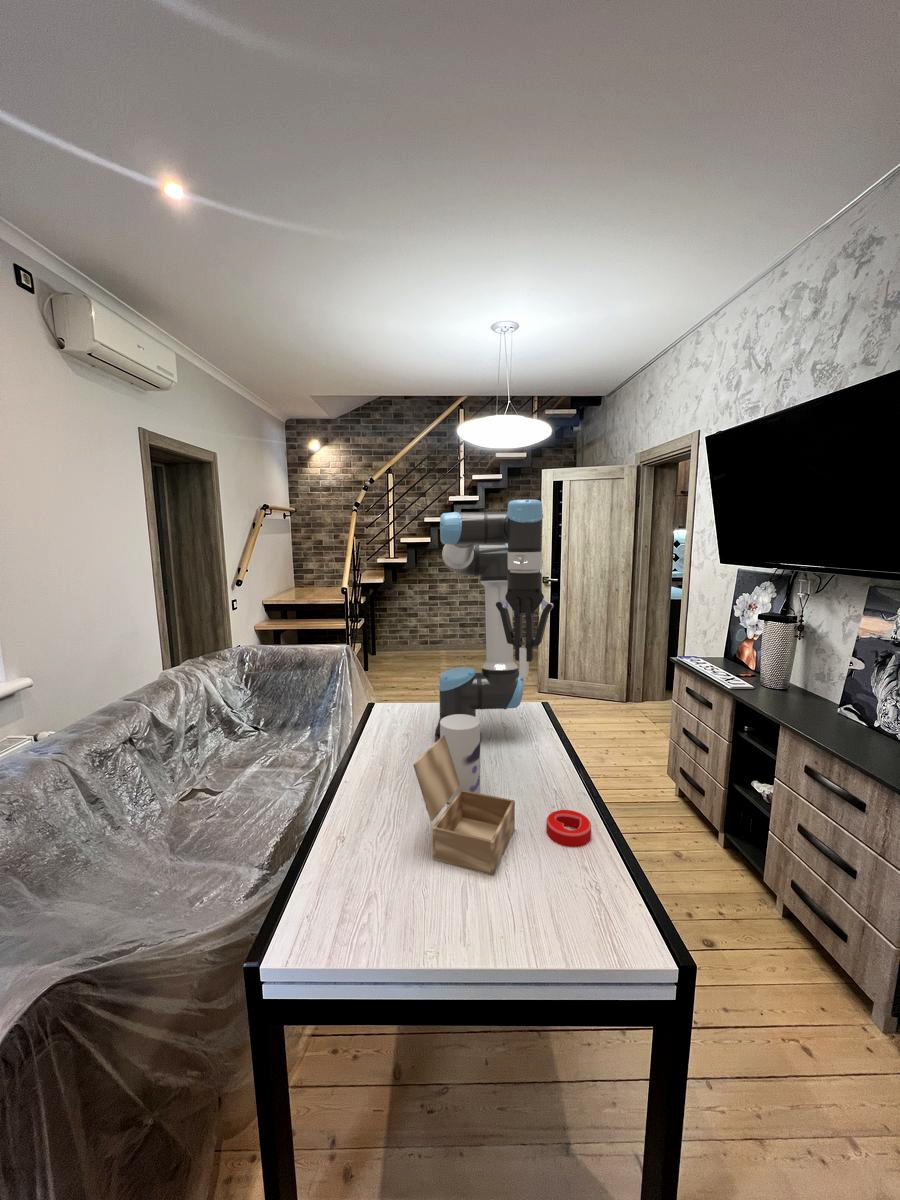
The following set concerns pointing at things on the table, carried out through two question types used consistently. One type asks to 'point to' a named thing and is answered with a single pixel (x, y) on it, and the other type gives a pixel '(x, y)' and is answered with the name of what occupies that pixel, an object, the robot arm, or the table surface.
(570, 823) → the decorative ornament
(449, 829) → the wooden box
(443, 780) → the lid
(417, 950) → the table surface
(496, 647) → the robot arm
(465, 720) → the container
